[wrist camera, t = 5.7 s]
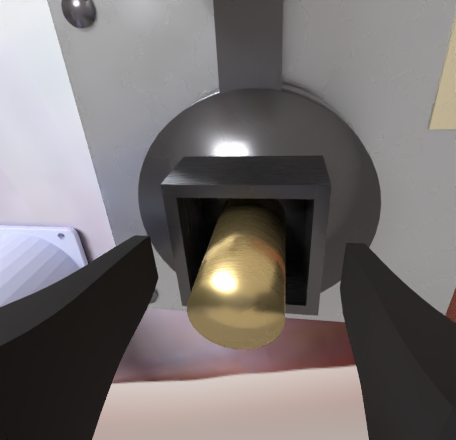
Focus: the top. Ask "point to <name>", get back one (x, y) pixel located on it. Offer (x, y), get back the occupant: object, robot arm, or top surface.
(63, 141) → the top surface
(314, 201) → the square socket hub
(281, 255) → the pin
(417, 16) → the flange plate
